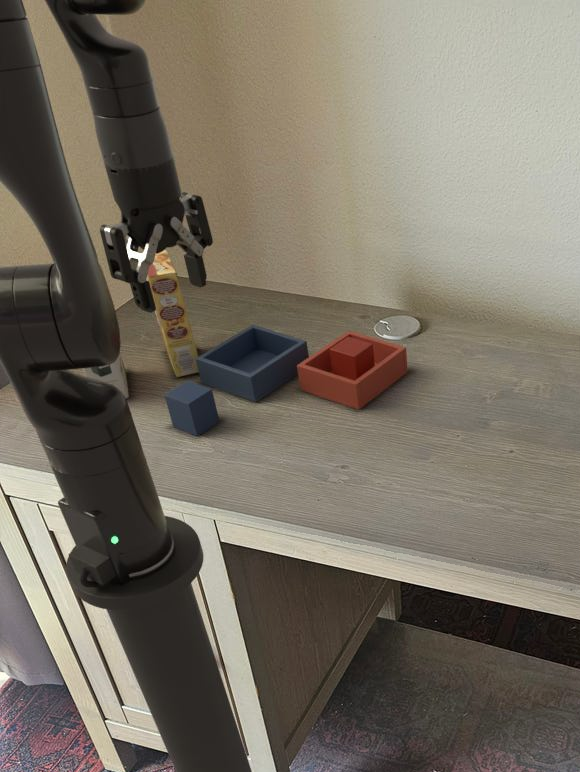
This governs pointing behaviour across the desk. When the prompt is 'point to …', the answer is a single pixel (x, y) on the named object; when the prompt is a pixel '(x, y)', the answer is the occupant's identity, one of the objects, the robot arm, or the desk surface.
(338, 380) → the red bin
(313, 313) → the desk surface
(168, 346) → the candy box
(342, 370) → the red block
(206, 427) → the blue block
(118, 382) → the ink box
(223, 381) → the blue bin
